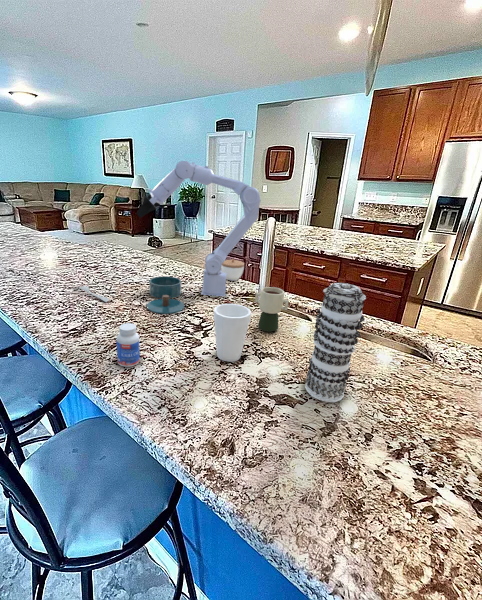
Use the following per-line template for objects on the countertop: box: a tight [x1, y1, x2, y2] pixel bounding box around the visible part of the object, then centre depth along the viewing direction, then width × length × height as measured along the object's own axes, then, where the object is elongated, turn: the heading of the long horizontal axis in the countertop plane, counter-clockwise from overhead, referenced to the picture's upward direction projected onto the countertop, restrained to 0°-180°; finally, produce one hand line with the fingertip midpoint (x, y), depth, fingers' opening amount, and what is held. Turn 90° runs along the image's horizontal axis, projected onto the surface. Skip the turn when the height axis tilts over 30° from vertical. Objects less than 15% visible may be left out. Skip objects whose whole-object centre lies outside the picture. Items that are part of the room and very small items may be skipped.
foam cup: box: [212, 303, 252, 363], centre depth 83 cm, size 10×9×13 cm
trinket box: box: [221, 258, 245, 282], centre depth 149 cm, size 11×11×9 cm
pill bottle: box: [116, 322, 140, 368], centre depth 79 cm, size 6×5×10 cm
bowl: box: [148, 275, 182, 299], centre depth 126 cm, size 12×12×6 cm
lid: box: [146, 295, 185, 315], centre depth 113 cm, size 13×13×5 cm
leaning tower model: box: [304, 282, 367, 403], centre depth 69 cm, size 9×9×25 cm
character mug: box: [254, 286, 289, 333], centre depth 99 cm, size 11×7×13 cm, turn 54°
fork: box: [75, 285, 110, 303], centre depth 122 cm, size 3×21×3 cm, turn 53°
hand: (140, 214), depth 120 cm, fingers open, 7 cm apart
